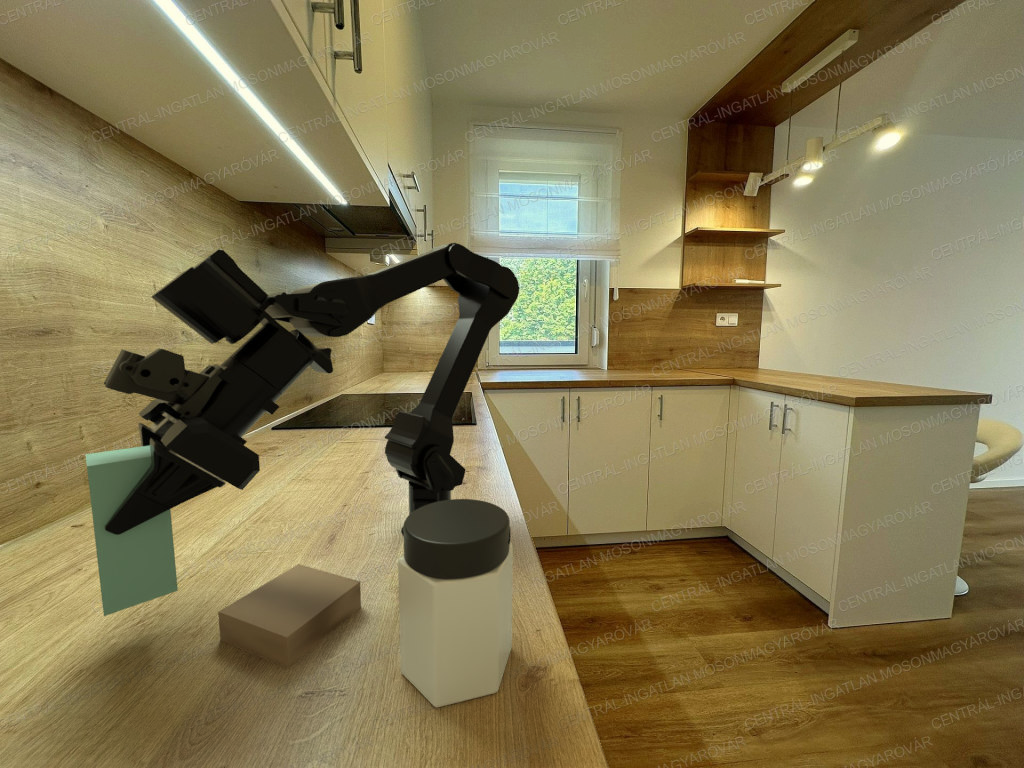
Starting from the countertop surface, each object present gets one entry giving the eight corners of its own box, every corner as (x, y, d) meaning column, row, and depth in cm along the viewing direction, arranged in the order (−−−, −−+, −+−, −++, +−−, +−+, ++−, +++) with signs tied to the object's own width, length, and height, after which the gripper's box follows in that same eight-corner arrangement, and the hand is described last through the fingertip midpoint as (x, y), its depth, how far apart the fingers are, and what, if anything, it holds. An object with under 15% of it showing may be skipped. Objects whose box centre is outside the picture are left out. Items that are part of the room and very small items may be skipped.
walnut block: (299, 591, 42) (298, 564, 42) (361, 610, 39) (360, 581, 39) (220, 644, 35) (218, 611, 35) (288, 672, 32) (286, 637, 32)
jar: (533, 662, 33) (536, 519, 32) (454, 732, 27) (452, 560, 26) (461, 611, 39) (461, 489, 38) (383, 659, 33) (379, 517, 32)
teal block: (169, 570, 38) (157, 444, 37) (177, 590, 35) (165, 454, 34) (101, 591, 35) (85, 454, 33) (103, 616, 32) (86, 466, 30)
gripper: (159, 318, 41) (1, 445, 35) (197, 312, 29) (-41, 509, 22) (253, 389, 48) (135, 507, 41) (317, 408, 35) (163, 583, 29)
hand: (108, 522), depth 33 cm, fingers closed on teal block, 4 cm apart
